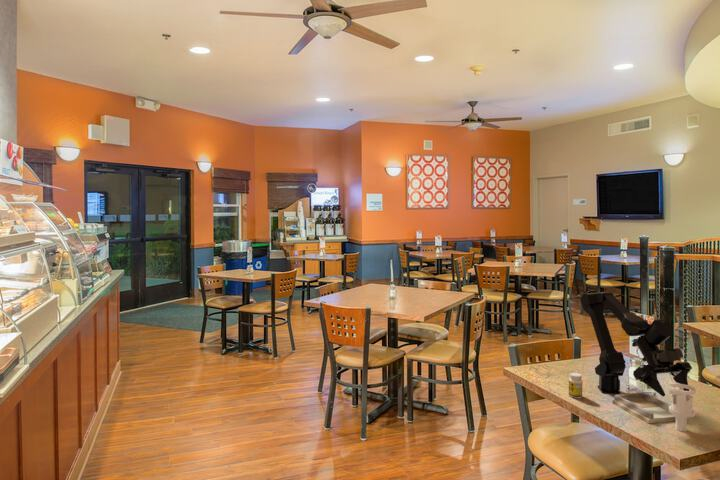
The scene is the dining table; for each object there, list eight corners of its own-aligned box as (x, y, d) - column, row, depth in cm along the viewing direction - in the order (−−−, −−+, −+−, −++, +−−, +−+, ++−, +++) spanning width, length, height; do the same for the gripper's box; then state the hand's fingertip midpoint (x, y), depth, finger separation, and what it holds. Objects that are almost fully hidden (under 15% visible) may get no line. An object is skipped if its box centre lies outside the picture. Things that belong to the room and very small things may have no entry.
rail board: (612, 403, 180) (612, 395, 179) (645, 399, 182) (645, 392, 182) (648, 423, 163) (648, 414, 163) (684, 419, 166) (684, 410, 165)
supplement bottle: (566, 393, 189) (566, 372, 188) (577, 393, 189) (578, 372, 189) (572, 398, 184) (573, 376, 183) (584, 398, 184) (585, 376, 184)
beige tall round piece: (667, 422, 163) (668, 378, 162) (692, 427, 160) (694, 382, 159) (669, 431, 157) (670, 385, 156) (695, 436, 154) (697, 389, 153)
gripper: (640, 341, 162) (666, 386, 152) (688, 338, 166) (716, 381, 156) (622, 358, 171) (646, 401, 161) (668, 354, 174) (694, 396, 164)
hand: (676, 394), depth 160 cm, fingers open, 9 cm apart
